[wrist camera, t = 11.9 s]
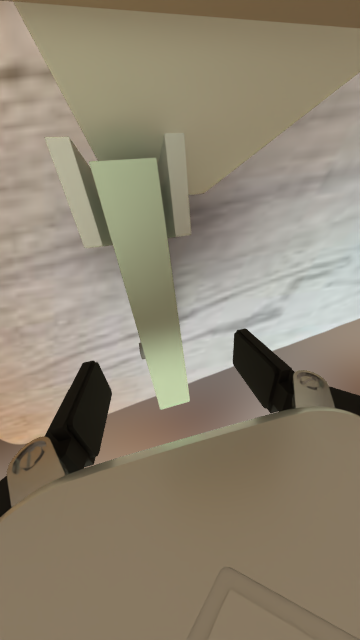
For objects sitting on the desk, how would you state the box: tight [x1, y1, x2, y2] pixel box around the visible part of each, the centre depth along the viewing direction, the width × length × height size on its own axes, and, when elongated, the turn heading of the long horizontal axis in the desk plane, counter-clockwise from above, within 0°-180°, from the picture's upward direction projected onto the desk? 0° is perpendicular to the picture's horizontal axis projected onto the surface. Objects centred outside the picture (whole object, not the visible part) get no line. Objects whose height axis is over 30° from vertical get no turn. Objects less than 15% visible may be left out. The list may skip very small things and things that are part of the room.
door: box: [89, 158, 190, 409], centre depth 17 cm, size 4×18×14 cm, turn 7°
